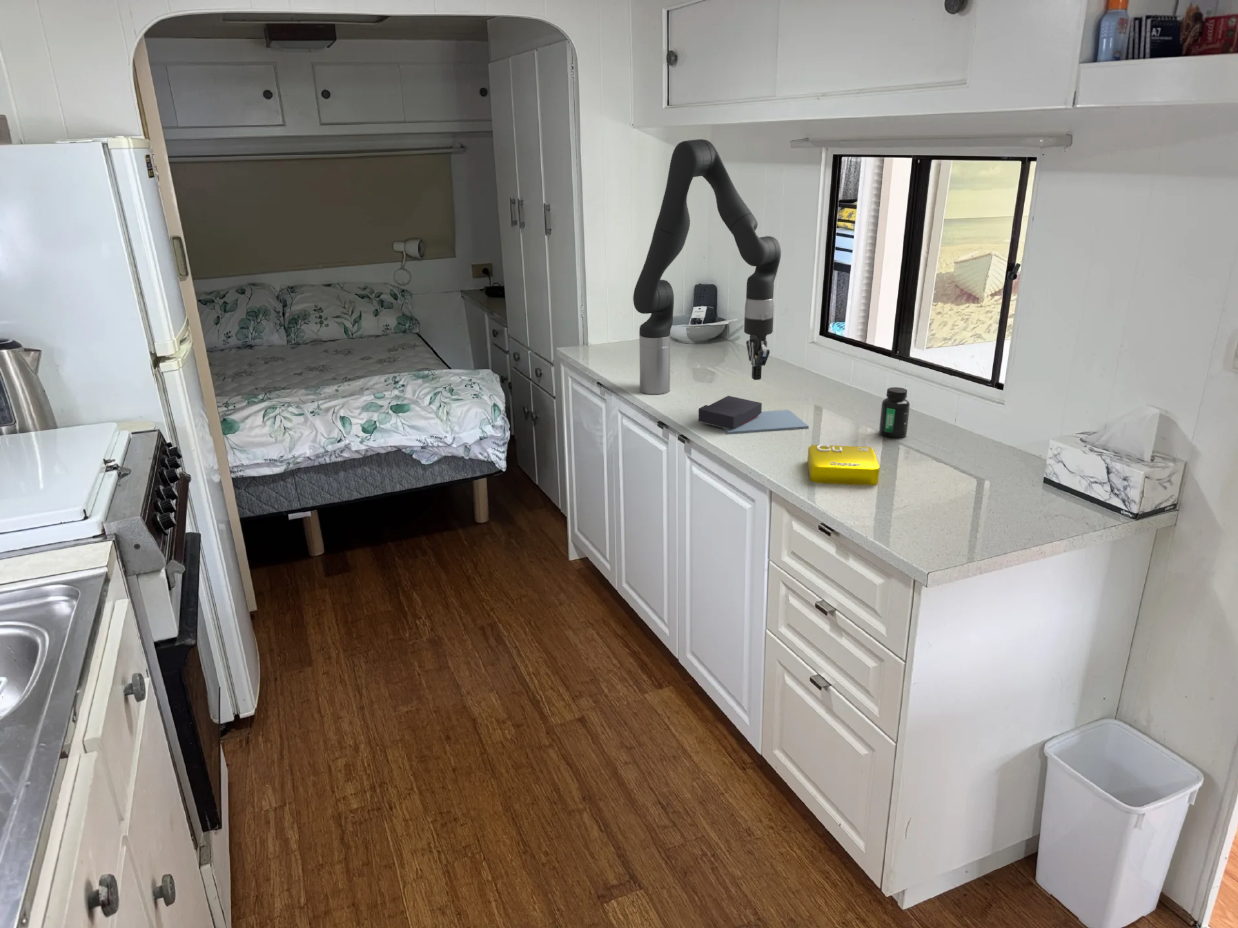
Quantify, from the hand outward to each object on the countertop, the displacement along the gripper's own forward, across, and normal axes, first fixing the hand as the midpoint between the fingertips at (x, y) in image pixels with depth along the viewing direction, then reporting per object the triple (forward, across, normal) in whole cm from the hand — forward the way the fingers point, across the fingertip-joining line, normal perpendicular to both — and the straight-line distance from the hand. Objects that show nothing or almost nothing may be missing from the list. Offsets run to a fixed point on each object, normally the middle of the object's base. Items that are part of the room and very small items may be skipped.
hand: (756, 379), depth 231 cm
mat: (+11, +4, 0) cm, 12 cm away
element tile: (+12, +43, +7) cm, 45 cm away
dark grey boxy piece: (+8, -3, -2) cm, 9 cm away
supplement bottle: (+11, +21, +30) cm, 38 cm away
